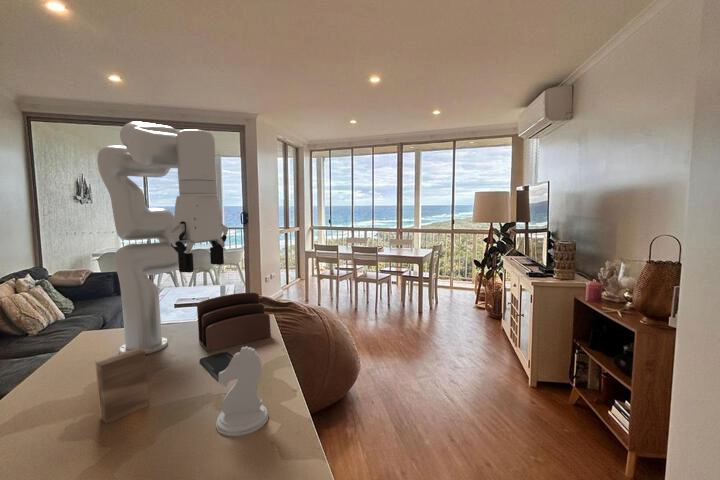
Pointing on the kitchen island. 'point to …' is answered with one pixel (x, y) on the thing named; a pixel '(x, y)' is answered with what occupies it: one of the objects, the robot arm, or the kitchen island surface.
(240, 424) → the chess piece
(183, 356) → the kitchen island surface
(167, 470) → the kitchen island surface
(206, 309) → the letter holder
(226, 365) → the phone
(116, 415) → the tan flat block
